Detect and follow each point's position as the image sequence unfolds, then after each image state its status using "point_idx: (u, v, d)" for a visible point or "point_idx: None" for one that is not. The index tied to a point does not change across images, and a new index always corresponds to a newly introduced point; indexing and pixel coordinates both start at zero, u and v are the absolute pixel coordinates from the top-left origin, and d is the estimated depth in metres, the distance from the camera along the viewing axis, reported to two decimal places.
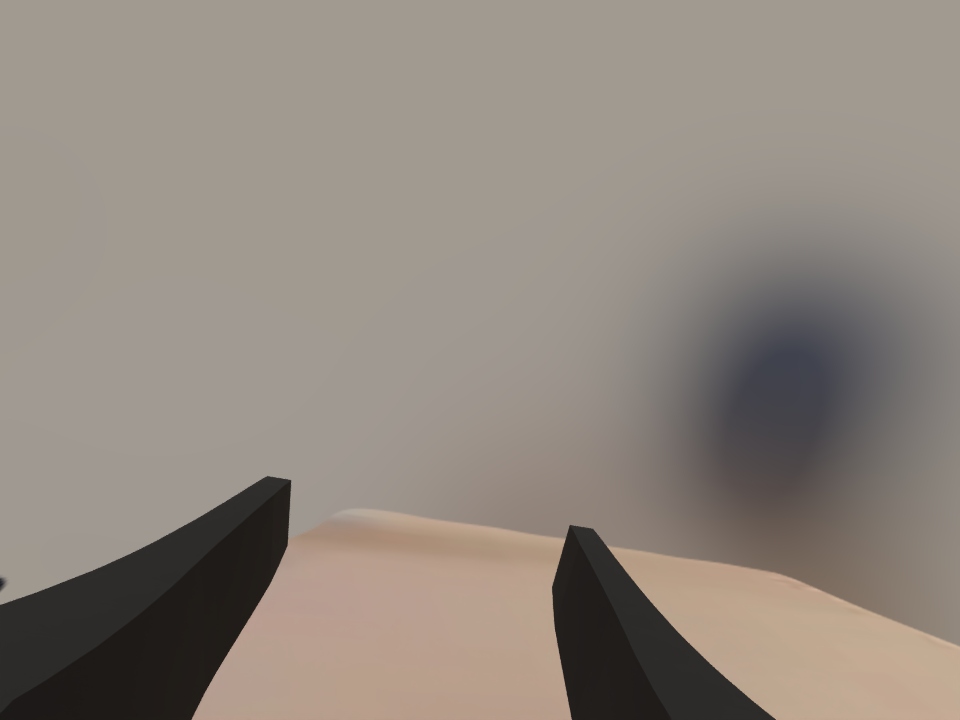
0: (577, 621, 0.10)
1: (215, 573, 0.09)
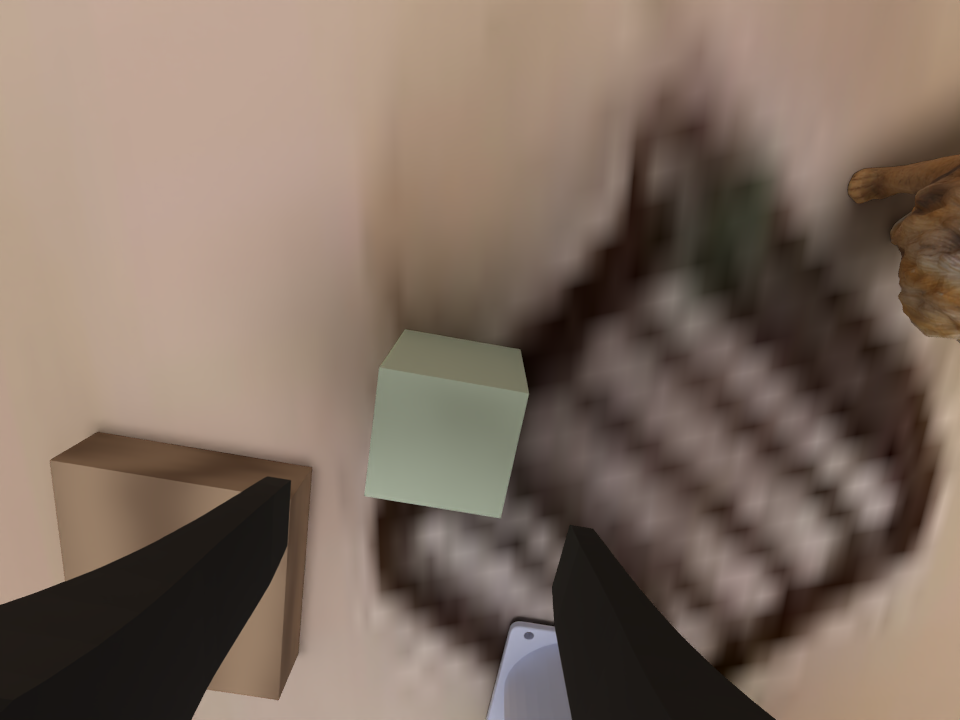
0: (578, 621, 0.10)
1: (215, 573, 0.09)
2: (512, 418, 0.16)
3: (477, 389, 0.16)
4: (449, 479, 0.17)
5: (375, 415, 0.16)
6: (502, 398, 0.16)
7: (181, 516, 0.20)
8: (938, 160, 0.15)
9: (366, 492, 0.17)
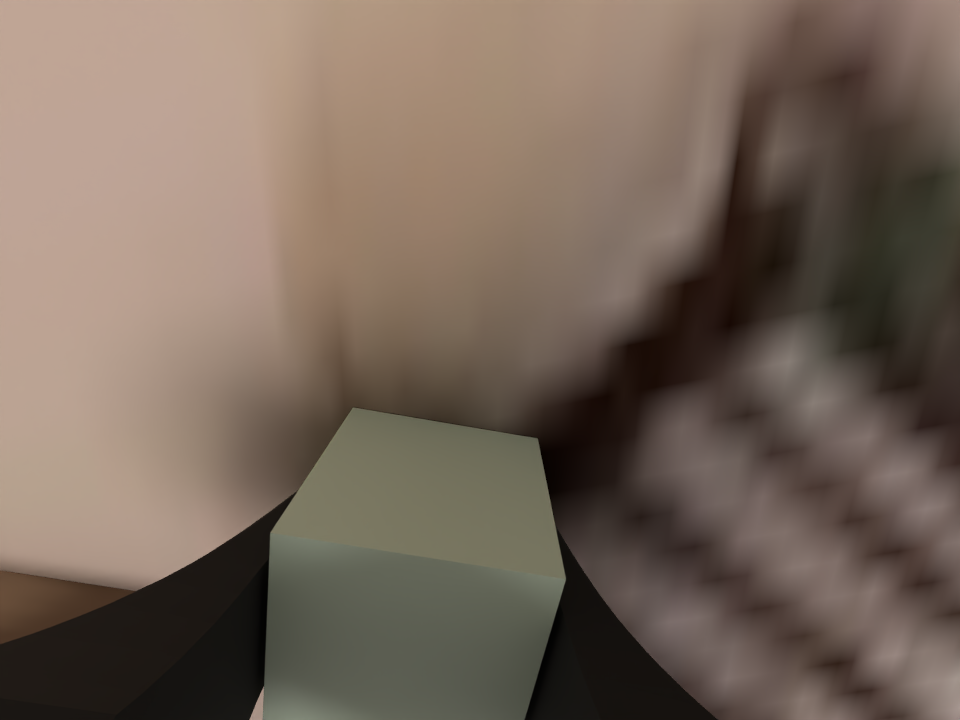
0: None
1: None
2: (532, 620, 0.08)
3: (464, 571, 0.08)
4: (415, 714, 0.09)
5: (270, 613, 0.08)
6: (513, 587, 0.08)
7: None
8: None
9: None
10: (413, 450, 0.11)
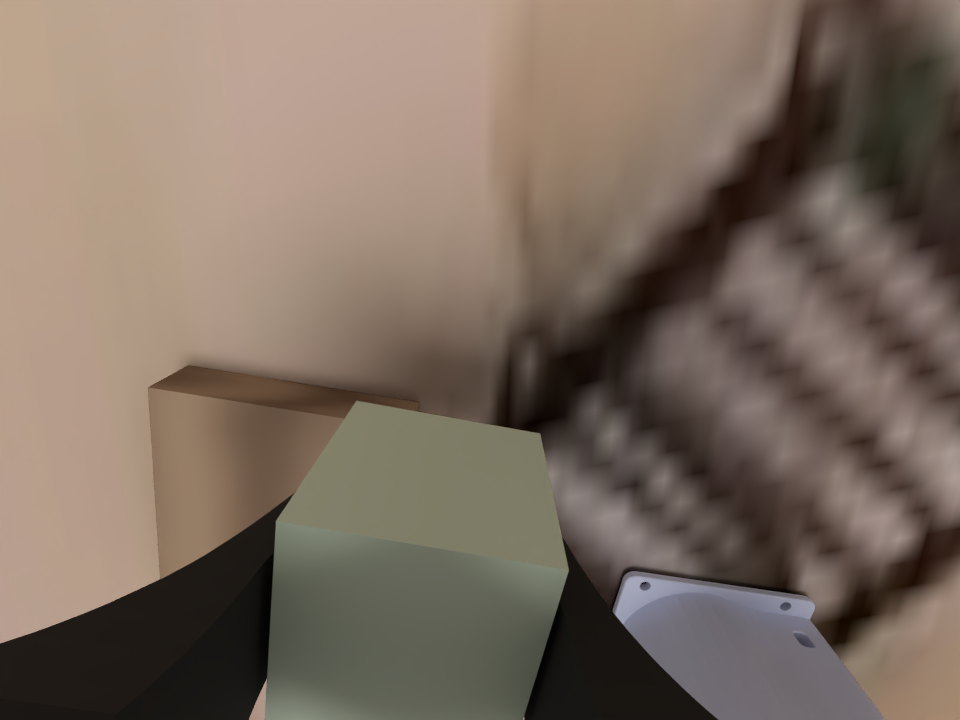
0: None
1: (270, 581, 0.09)
2: (535, 611, 0.08)
3: (468, 562, 0.08)
4: (417, 704, 0.09)
5: (274, 602, 0.08)
6: (516, 577, 0.08)
7: (289, 449, 0.19)
8: None
9: None
10: (416, 443, 0.11)
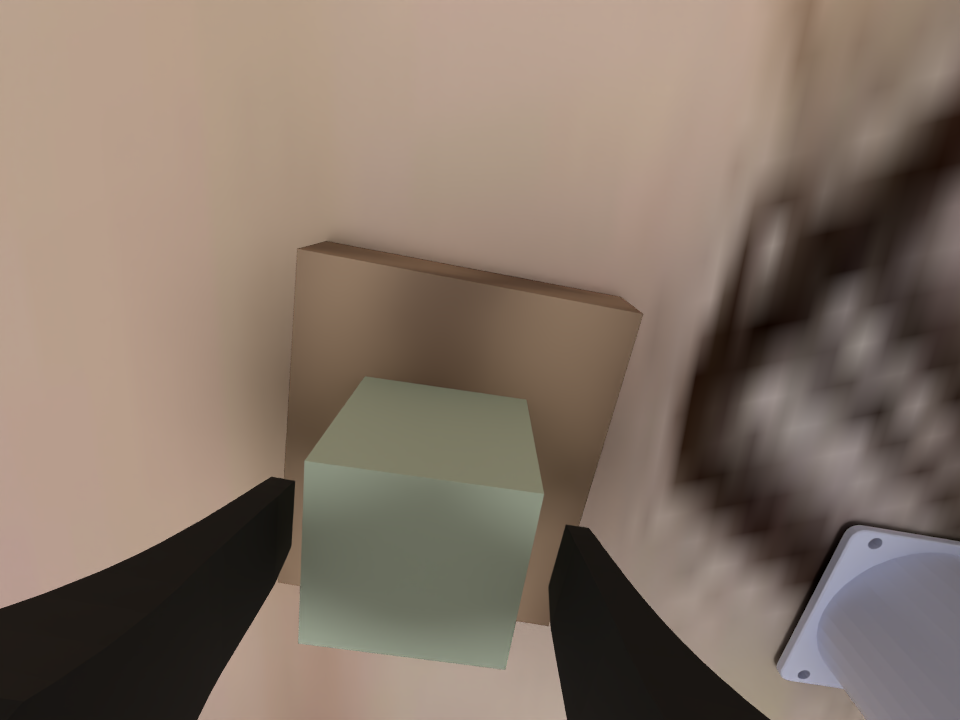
0: (573, 621, 0.10)
1: (221, 574, 0.09)
2: (519, 531, 0.10)
3: (461, 490, 0.10)
4: (425, 618, 0.11)
5: (305, 531, 0.10)
6: (501, 502, 0.10)
7: (475, 341, 0.14)
8: None
9: (301, 638, 0.11)
10: (418, 407, 0.13)
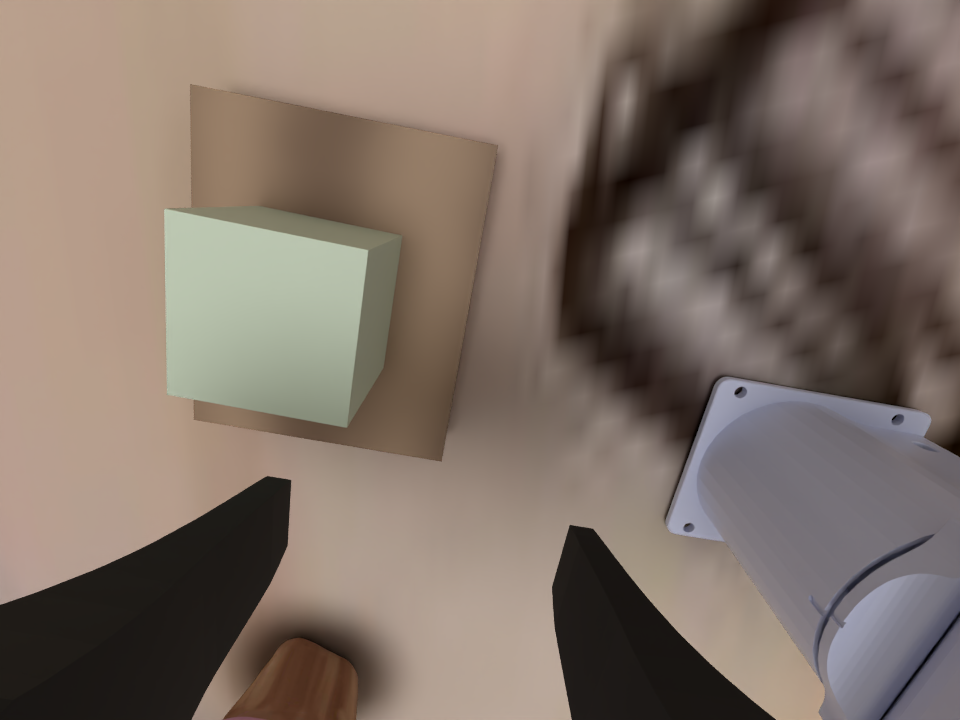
0: (577, 621, 0.10)
1: (215, 573, 0.09)
2: (349, 286, 0.12)
3: (298, 243, 0.12)
4: (275, 372, 0.13)
5: (167, 279, 0.12)
6: (333, 257, 0.12)
7: (353, 173, 0.16)
8: None
9: (169, 389, 0.13)
10: (294, 219, 0.15)
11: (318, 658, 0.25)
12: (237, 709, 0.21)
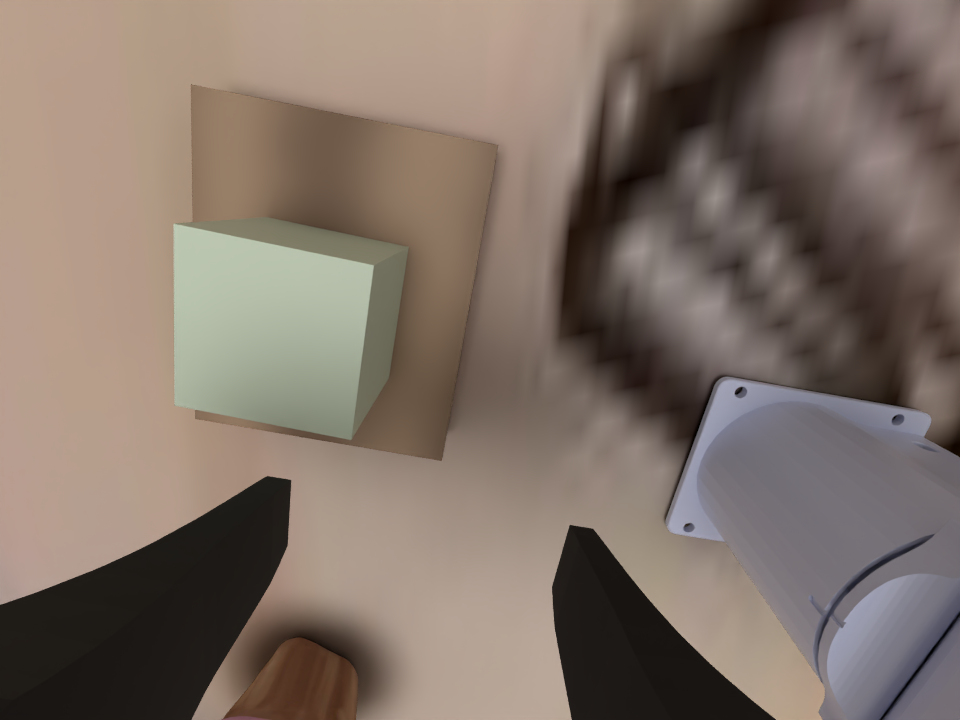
0: (577, 621, 0.10)
1: (215, 573, 0.09)
2: (355, 301, 0.12)
3: (305, 258, 0.12)
4: (281, 384, 0.13)
5: (176, 292, 0.12)
6: (339, 271, 0.12)
7: (354, 173, 0.16)
8: None
9: (177, 400, 0.13)
10: (301, 231, 0.15)
11: (318, 658, 0.25)
12: (237, 708, 0.21)
